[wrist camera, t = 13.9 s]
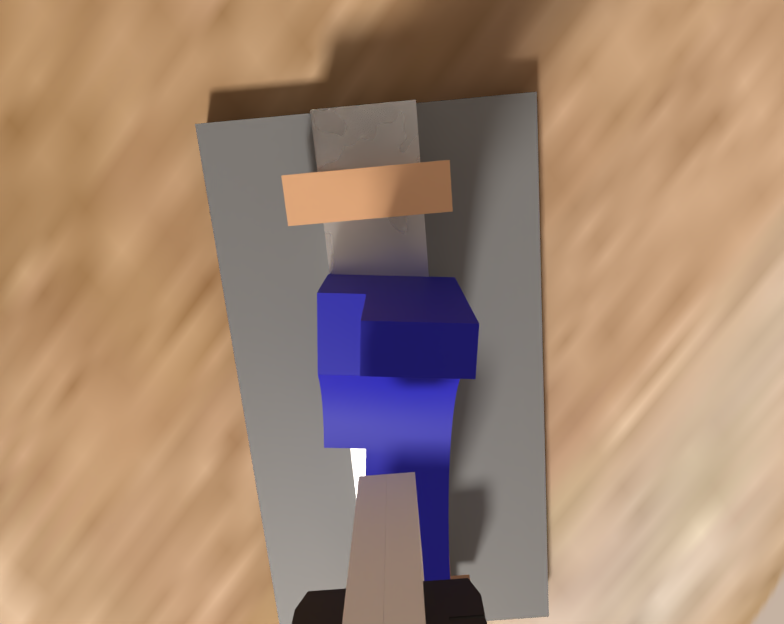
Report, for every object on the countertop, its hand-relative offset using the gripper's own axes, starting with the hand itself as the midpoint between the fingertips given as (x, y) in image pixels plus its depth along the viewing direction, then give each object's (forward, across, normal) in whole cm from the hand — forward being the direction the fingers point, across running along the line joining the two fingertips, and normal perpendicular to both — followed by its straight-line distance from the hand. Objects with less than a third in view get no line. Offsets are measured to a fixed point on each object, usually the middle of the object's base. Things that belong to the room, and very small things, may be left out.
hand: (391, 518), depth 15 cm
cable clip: (+7, 0, 0) cm, 7 cm away
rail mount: (+9, 0, 0) cm, 9 cm away
